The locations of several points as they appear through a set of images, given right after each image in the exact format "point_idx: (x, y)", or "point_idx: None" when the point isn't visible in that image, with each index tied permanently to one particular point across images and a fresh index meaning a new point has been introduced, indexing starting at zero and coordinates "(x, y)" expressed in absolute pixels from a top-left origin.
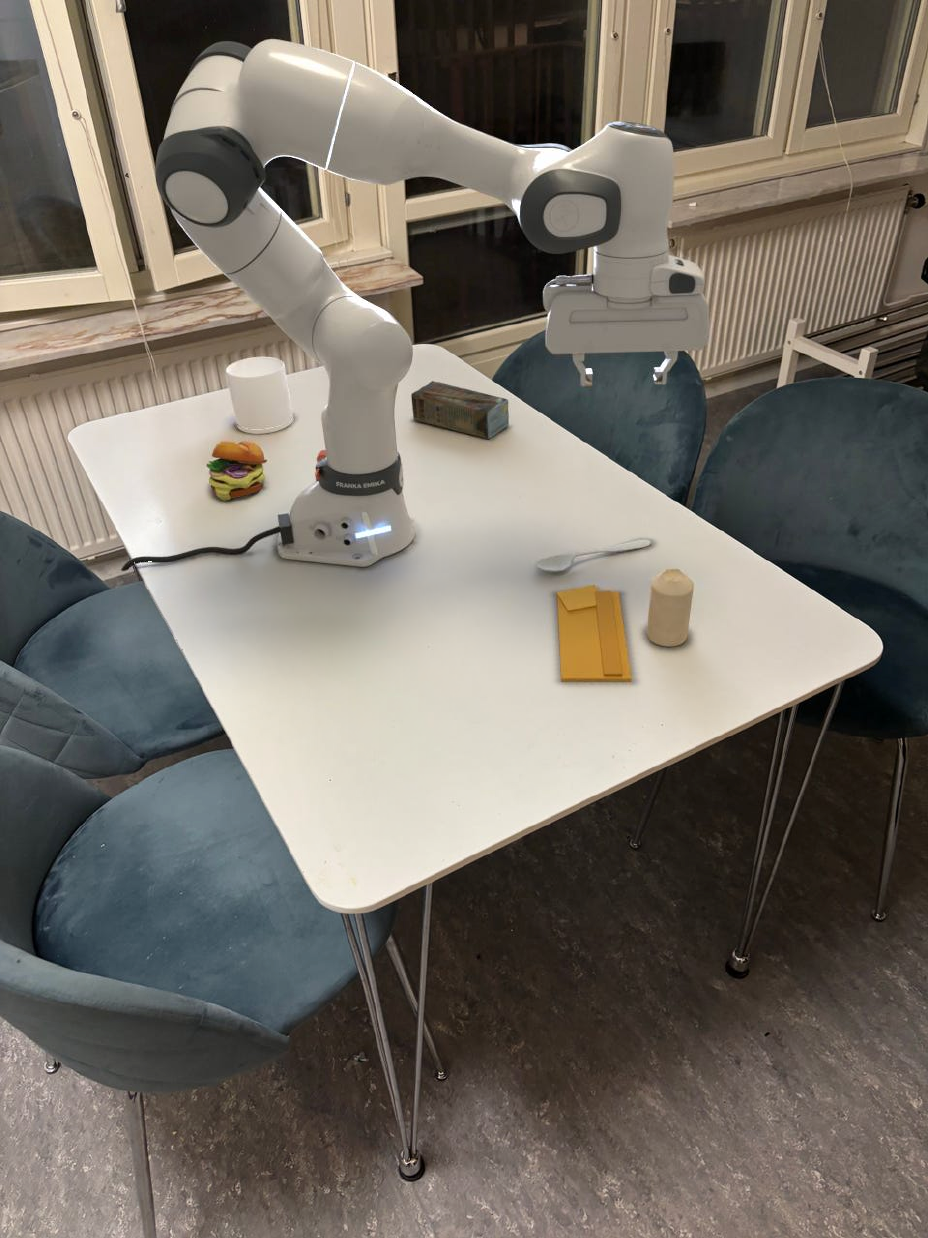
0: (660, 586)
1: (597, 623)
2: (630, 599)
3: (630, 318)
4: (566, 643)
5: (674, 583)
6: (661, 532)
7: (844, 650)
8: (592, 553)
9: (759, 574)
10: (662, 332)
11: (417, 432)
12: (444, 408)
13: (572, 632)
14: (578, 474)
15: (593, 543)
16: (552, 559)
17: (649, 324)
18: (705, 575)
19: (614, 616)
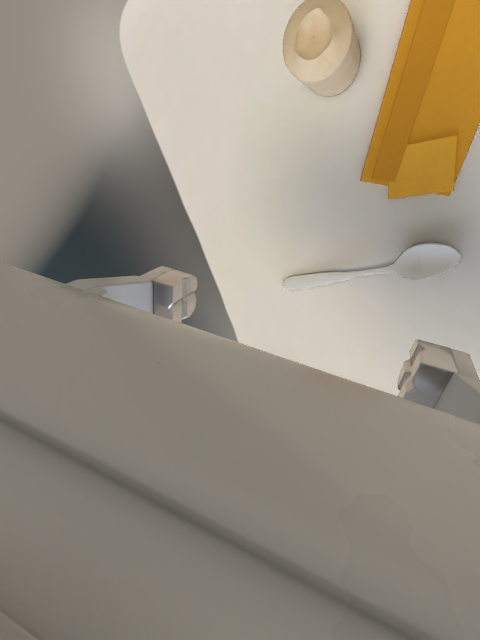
0: (342, 16)
1: (423, 97)
2: (349, 164)
3: (109, 507)
4: None
5: (319, 6)
6: (264, 300)
7: (144, 15)
8: (363, 270)
9: (191, 193)
10: (8, 329)
11: None
12: None
13: (476, 72)
14: None
15: (348, 301)
16: (421, 274)
17: (23, 392)
18: (244, 203)
19: (392, 108)
